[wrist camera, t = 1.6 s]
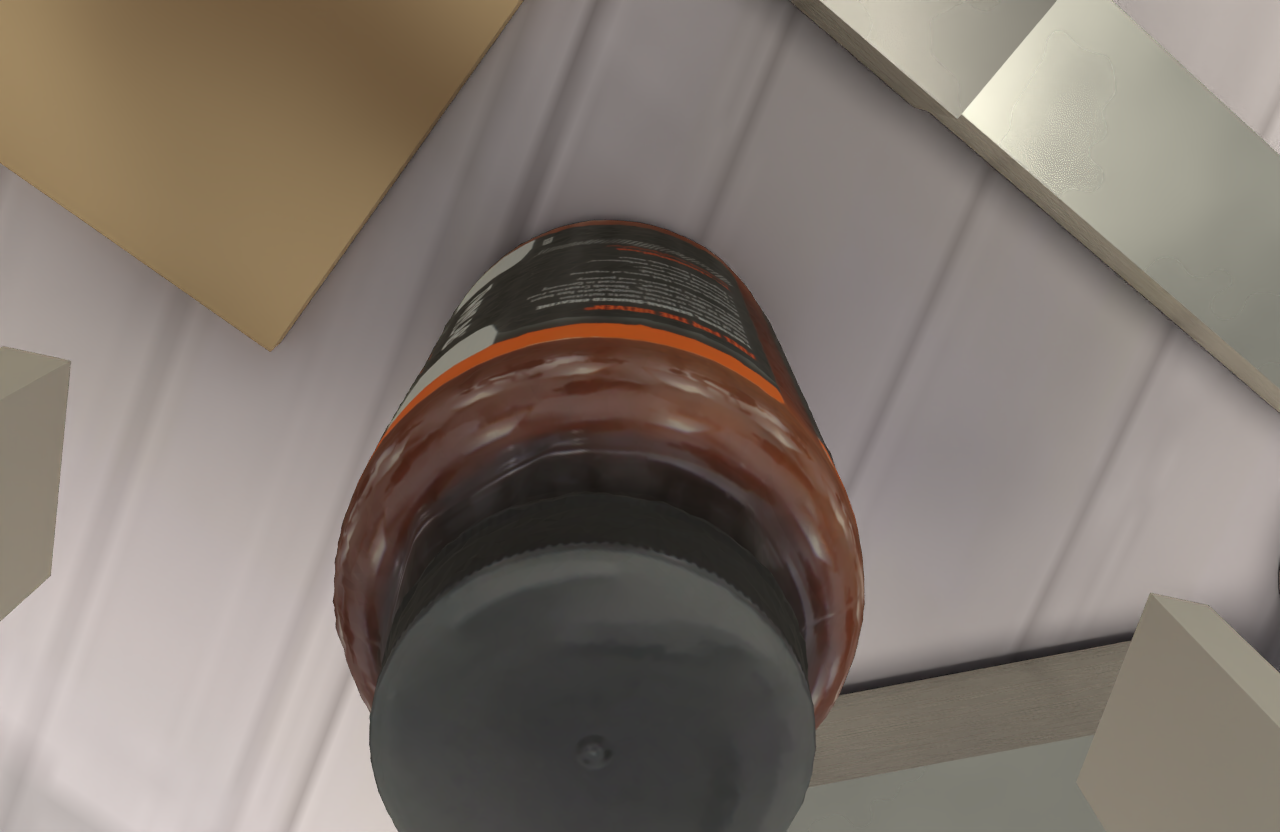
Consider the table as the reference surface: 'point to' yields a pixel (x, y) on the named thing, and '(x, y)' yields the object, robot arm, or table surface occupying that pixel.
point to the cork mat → (231, 128)
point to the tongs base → (1100, 149)
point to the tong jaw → (964, 750)
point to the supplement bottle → (600, 555)
